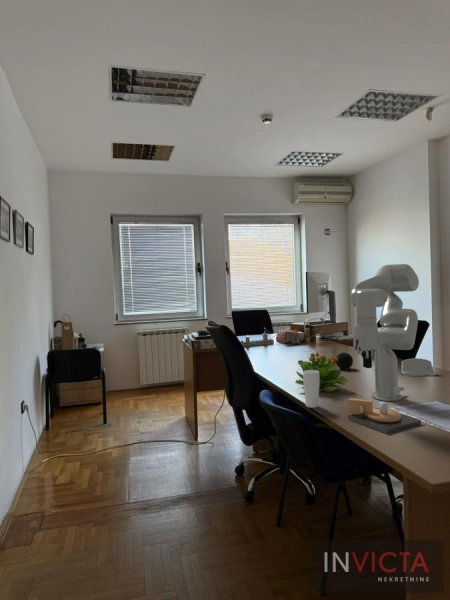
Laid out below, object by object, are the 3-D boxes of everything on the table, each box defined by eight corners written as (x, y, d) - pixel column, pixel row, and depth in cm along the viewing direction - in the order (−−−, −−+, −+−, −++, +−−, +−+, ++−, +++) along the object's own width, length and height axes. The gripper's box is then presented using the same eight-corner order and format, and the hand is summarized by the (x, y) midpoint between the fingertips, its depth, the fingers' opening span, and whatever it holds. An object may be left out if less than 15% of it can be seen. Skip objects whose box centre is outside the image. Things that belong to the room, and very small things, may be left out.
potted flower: (304, 397, 185) (303, 359, 184) (283, 385, 208) (282, 351, 207) (352, 392, 191) (351, 355, 191) (326, 380, 214) (326, 348, 214)
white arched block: (402, 375, 220) (401, 357, 223) (400, 376, 224) (398, 359, 227) (435, 376, 217) (433, 357, 220) (432, 377, 222) (430, 359, 225)
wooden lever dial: (352, 408, 161) (351, 394, 161) (402, 413, 153) (402, 399, 153) (346, 417, 151) (346, 403, 151) (399, 424, 142) (399, 408, 142)
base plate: (381, 411, 163) (381, 397, 162) (421, 424, 147) (421, 409, 146) (348, 419, 154) (347, 405, 154) (386, 434, 138) (386, 418, 138)
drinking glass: (318, 409, 167) (318, 373, 167) (302, 408, 170) (301, 372, 169) (321, 404, 173) (320, 370, 173) (305, 403, 176) (304, 369, 175)
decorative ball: (352, 367, 245) (352, 351, 245) (353, 371, 235) (353, 354, 235) (335, 367, 247) (335, 351, 247) (335, 370, 238) (335, 353, 237)
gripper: (372, 319, 165) (373, 363, 166) (345, 322, 158) (346, 368, 159) (387, 320, 158) (388, 366, 160) (359, 324, 152) (361, 372, 153)
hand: (367, 367), depth 159 cm, fingers closed
